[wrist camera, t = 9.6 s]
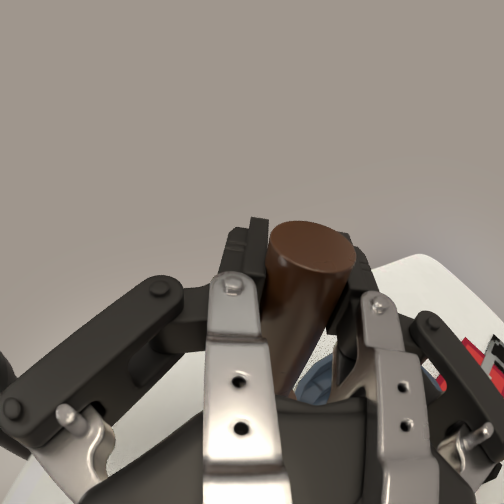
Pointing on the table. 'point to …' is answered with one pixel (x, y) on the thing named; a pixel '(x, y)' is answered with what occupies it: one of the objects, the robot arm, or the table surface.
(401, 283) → the table surface
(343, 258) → the brown cylinder
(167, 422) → the table surface
